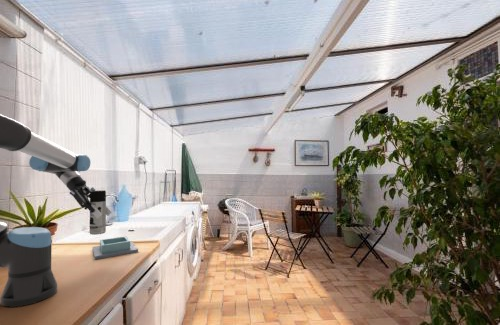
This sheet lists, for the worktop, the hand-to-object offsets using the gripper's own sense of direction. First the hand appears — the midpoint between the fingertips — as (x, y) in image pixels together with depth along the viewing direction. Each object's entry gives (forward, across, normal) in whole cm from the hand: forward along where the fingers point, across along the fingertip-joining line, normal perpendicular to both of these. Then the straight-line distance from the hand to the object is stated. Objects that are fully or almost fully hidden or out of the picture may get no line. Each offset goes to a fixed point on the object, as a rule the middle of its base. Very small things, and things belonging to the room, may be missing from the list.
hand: (104, 215), depth 124 cm
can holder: (+10, -19, -21) cm, 30 cm away
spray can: (+4, 0, -9) cm, 9 cm away
